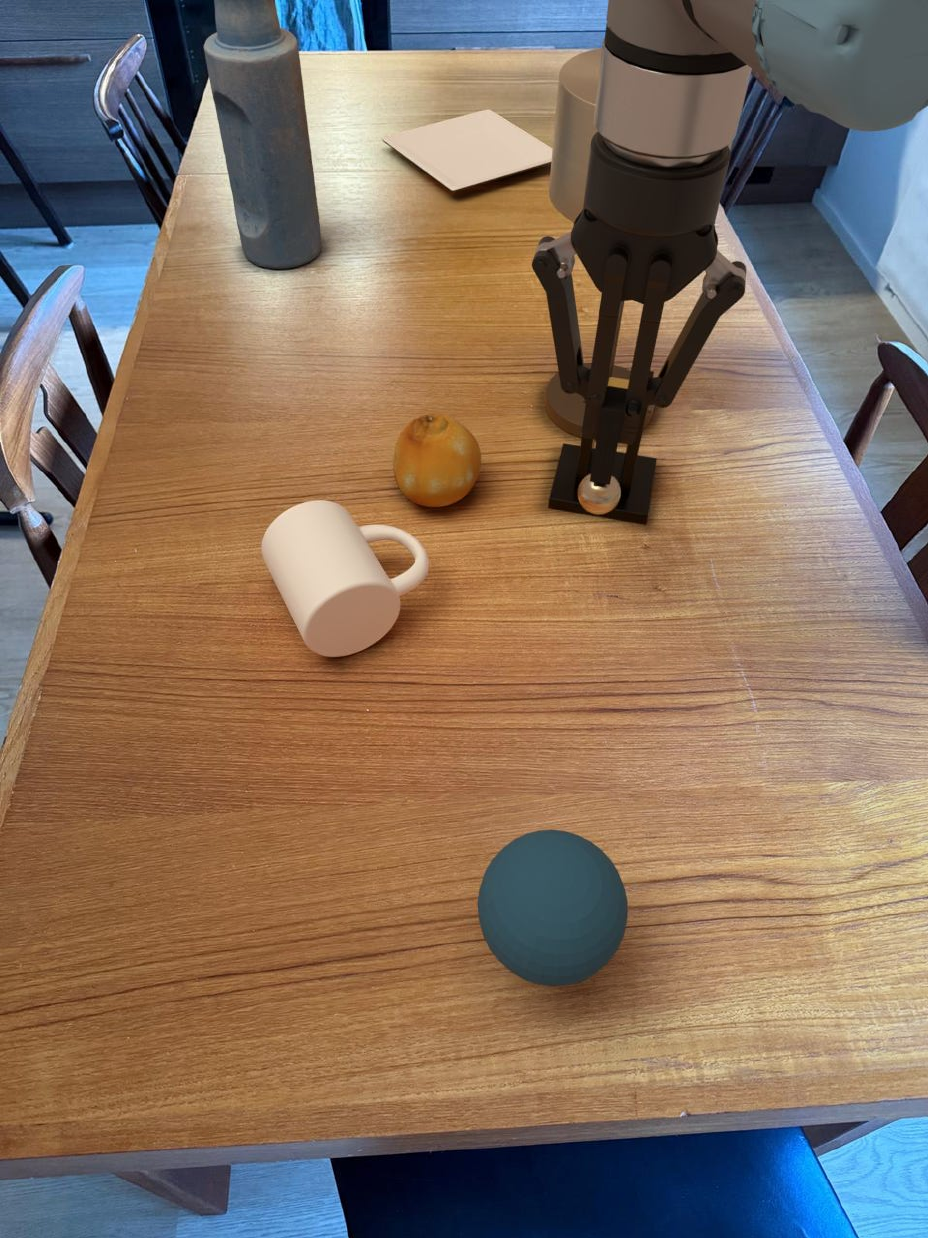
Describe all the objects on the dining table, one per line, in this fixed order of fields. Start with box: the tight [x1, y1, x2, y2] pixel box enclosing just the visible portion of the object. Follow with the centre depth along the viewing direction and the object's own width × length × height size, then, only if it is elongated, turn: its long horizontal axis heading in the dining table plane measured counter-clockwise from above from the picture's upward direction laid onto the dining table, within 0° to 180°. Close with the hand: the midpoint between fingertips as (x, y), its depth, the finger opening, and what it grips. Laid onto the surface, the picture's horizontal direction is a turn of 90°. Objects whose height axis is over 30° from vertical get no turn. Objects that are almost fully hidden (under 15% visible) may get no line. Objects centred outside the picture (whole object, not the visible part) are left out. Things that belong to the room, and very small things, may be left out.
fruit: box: [392, 413, 482, 508], centre depth 81 cm, size 8×8×8 cm
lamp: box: [544, 47, 734, 442], centre depth 80 cm, size 14×14×30 cm
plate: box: [381, 108, 553, 193], centre depth 126 cm, size 19×19×2 cm
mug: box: [260, 499, 430, 658], centre depth 71 cm, size 12×10×8 cm
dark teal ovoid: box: [477, 829, 629, 987], centre depth 52 cm, size 8×8×12 cm
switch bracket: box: [547, 370, 658, 526], centre depth 79 cm, size 8×9×12 cm
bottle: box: [203, 0, 323, 270], centre depth 98 cm, size 10×10×30 cm
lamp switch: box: [578, 377, 629, 514], centre depth 72 cm, size 16×3×3 cm, turn 167°
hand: (602, 470), depth 66 cm, fingers closed
